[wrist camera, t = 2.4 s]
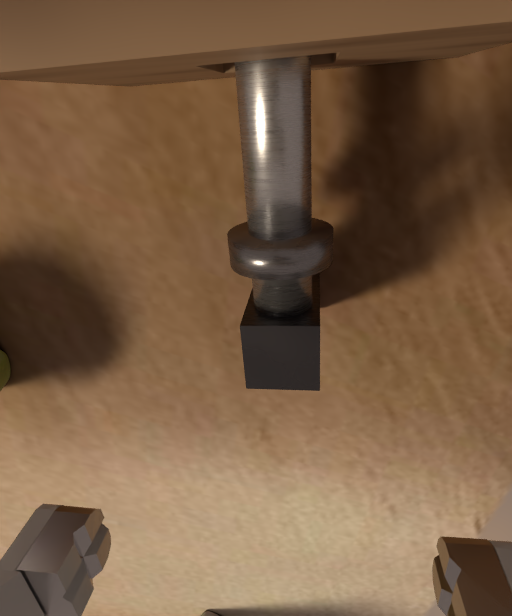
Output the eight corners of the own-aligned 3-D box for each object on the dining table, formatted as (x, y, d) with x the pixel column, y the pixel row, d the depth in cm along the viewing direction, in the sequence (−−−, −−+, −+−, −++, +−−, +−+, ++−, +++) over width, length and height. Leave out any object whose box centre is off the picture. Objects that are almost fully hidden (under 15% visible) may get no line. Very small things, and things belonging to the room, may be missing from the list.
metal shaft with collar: (214, -198, 13) (135, -429, 8) (336, -223, 13) (352, -492, 7) (255, 312, 22) (234, 389, 16) (327, 312, 22) (332, 392, 16)
